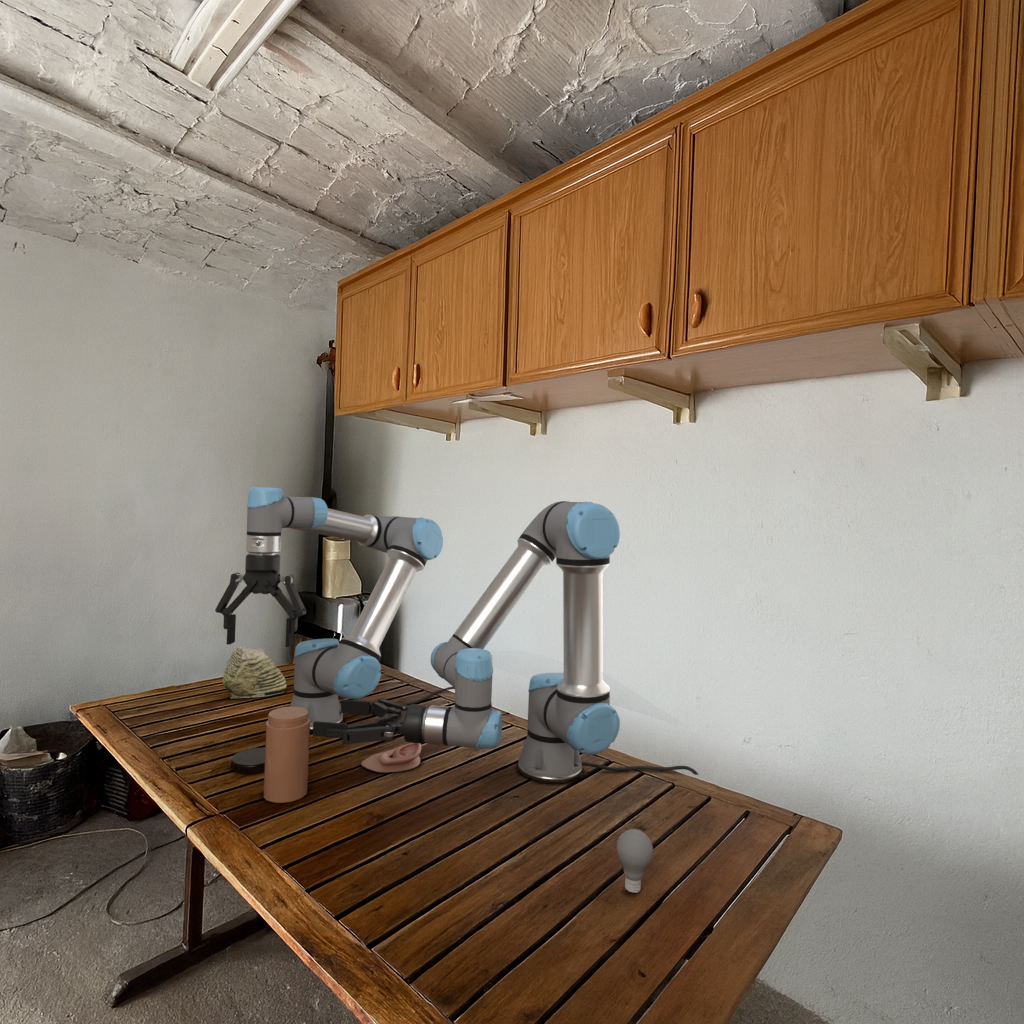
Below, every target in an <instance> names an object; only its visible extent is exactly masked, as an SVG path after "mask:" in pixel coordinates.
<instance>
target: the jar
mask: <svg viewBox="0 0 1024 1024" xmlns="http://www.w3.org/2000/svg"><path fill="white" fill-rule="evenodd" d="M267 715H268V717H267V719H268V720H266V722H265V740H264V741H265V743H264V748H265V765H264V772H263V793H262V794H263V798H264V800H266V801H268V802H270V803H276V804H285V803H291V802H295V801H298V800H300V799H302V798H304V797H305V796H306V795H307V793H308V790H309V789H308V788H309V762H310V761H309V760H310V738H311V737H310V736H311V732H310V718H308V717H309V716H308V715H309V713H308V710H307V709H305V708H302V707H290V706H282V707H279V708H278V707H277V708H275V709H272V710H271V711H269V713H268V714H267Z"/></svg>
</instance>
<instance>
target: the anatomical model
mask: <svg viewBox="0 0 1024 1024" xmlns="http://www.w3.org/2000/svg"><path fill="white" fill-rule="evenodd" d="M421 752H422V744H421V743H405V744H402V745H399V746H397V747H394V748H392V749H388V750H386V751H382V752H378V753H375V754H373V755H370V756H368V757H367V758H365V759H364V760H362V761H361V762H360V765H361V766H362V767H363V768H365V769H367V770H369V771H373V772H375V773H394V772H395V773H396V772H403V771H408V770H411V769H415V768H416V767H418V766H419V765H420V764H421V757H420V754H421Z"/></svg>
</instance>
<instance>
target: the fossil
mask: <svg viewBox="0 0 1024 1024" xmlns="http://www.w3.org/2000/svg"><path fill="white" fill-rule="evenodd" d="M222 676H223V677H222V685H223V687H224V688H225V690H226V691H228V693H229V698H230V699H250V698H264V697H271V696H275V695H281V694H284V693H285V691H286V689H287V687H288V686H287V680H286V678H285V676H284V674H283V673H282V672H281V669H279V668H278V667H277V665H276V663H275V662H274V660H273V659H272V658H271V657H270V656H269V655H268V654H267V653H266V652H265V650H264V649H263V648H260V647H258V648H251V647H247V646H246V647H245V646H238V647H237V648H236V649H235V650H233V651H232V653H231V656H230V657H229V659H228V660H227V663H226V666H225V668H224V671H223V675H222Z"/></svg>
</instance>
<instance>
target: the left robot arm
mask: <svg viewBox="0 0 1024 1024" xmlns="http://www.w3.org/2000/svg"><path fill="white" fill-rule="evenodd" d="M246 508H247V511H246V540H245V541H246V542H245V551H246V552H247V554H246V555H245V562H244V563H245V565H244V569H245V570H244V571H245V573H243V574H242V573H240V572H233V573H232V574H230V579H229V583H228V586H226V588H225V591H224V593H223V595H222V597H220V600H219V601H218V604H217V605H216V607H215V610H214V611H215V613H217V614H221V615H222V616H223V624H222V625H223V626H222V627H223V629H224V630H226V645H232V644H234V643H235V642H236V625H237V623H236V621H237V614H235V611H236V610H237V608H239V606H241V604H242V603H243V602H245V600H246V599H247V597H249V596H250V595H251V594H253V595H258V594H261V595H269V594H270V595H271V597H273V598H274V599H275V601H277V602H278V604H279V605H280V607H281V608H282V609H283V610H284V612H285V613H286V615H288V618H286V620H285V621H286V623H285V648H290V647H292V646H293V644H294V633H295V632H297V630H298V624H299V623H298V621H299V618H300V617H303V616H304V615H306V614H307V609H306V607H305V605H304V603H303V601H302V599H301V596H300V594H299V592H298V589H297V587H296V586H295V579H294V575H293V574H288V575H281V573H280V572H281V555H280V554H279V553H281V551H282V529H291V530H297V531H301V532H306V533H311V534H317V535H323V536H327V537H332V538H338V539H342V540H347V541H352V542H357V543H358V545H359V546H362V547H365V548H370V549H373V550H377V551H379V552H383V553H385V554H386V555H387V557H388V560H387V562H386V564H385V566H384V568H383V569H382V571H381V573H380V576H379V578H378V580H377V581H376V584H374V585H375V586H374V588H373V590H372V591H371V593H370V595H369V598H368V599H367V601H366V602H365V605H364V607H363V609H362V611H361V612H360V615H359V617H358V619H357V621H356V623H355V625H354V626H353V628H352V631H351V633H350V634H349V635H347V636H344V637H342V638H341V640H340V641H339V639H337V638H317V639H308V640H304V641H300V642H299V643H298V644H297V645H296V646H295V650H294V655H293V657H294V672H293V673H294V674H293V695H292V696H293V697H292V699H291V702H290V704H289V707H302V708H305V709H307V710H308V713H309V715H308V716H309V717H308V718H310V733H313V722H314V721H319V722H332V723H344V713H341V701H340V699H339V697H340V698H342V699H347V700H355V701H358V700H362V699H364V698H366V697H368V696H369V695H370V694H372V693H373V692H374V690H376V688H377V686H378V685H379V683H380V681H381V677H382V672H381V670H382V666H381V663H380V660H381V658H382V655H381V650H380V647H381V645H382V643H383V641H384V639H385V637H386V634H387V633H388V631H389V629H390V627H391V625H392V622H393V620H394V619H395V616H396V615H397V612H398V610H399V609H400V605H401V604H402V602H403V600H404V598H405V596H406V593H407V591H408V590H409V588H410V585H411V583H412V581H413V579H414V577H415V575H416V573H417V572H421V571H423V570H424V569H425V566H426V565H427V562H428V561H432V560H434V559H436V558H438V557H439V556H440V554H441V552H442V550H443V545H444V537H443V532H442V529H441V527H440V526H439V523H437V522H436V521H434V520H433V519H429V518H424V517H410V516H409V517H408V516H399V515H397V516H396V515H395V516H393V515H392V516H388V515H386V516H385V515H384V516H381V515H373V514H369V513H368V514H365V515H363V516H362V515H358V514H354V513H350V512H346V511H342V510H341V511H340V510H338V509H333V508H330V507H329V508H328V505H327V503H326V501H325V500H324V499H322V498H320V497H313V496H288V495H287V496H285V495H284V491H283V489H282V488H281V487H261V486H253V487H251V488H250V489H249V491H248V495H247V504H246ZM242 581H243V582H244V584H245V585H246V586H245V587H244V588H243V589H242V590H241V592H240V593H239V594H238V595H237V596H236V597H235V598H234V599H233V601H232V602H231V603H230V604H229V602H230V601H231V599H232V597H233V595H234V594H235V592H236V590H237V588H238V586H239V585H240V583H242ZM280 583H282V584H283V586H285V589H286V591H287V594H288V596H289V598H290V601H291V602H292V603H291V602H290V601H289V599H288V598H287V597H286V596H285V594H284V593H283V591H282V589H281V587H279V584H280ZM449 690H455V688H454V687H453V686H448V687H444V688H442V689H438V690H435V691H432V692H431V693H429V694H427V695H426V696H423V697H421V698H419V699H416V700H413V701H408V702H402V703H400V704H403V705H409V706H410V705H412V704H418V703H420V702H422V701H424V700H426V699H429V698H431V697H432V696H434V695H435V694H439V693H444V692H446V691H449Z"/></svg>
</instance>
